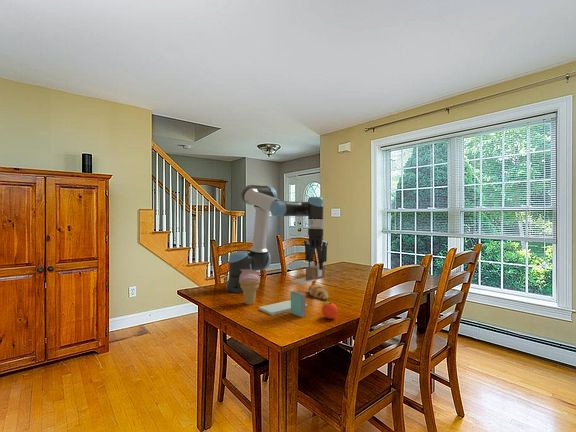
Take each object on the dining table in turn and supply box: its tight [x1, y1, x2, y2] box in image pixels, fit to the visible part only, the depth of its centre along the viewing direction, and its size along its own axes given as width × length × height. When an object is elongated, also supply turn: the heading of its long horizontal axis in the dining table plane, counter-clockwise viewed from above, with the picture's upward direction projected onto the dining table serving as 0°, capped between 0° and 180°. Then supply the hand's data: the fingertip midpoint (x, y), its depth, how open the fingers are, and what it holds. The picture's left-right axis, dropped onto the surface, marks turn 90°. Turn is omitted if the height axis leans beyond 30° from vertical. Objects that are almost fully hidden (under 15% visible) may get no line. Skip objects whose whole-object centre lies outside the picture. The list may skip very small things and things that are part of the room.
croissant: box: [308, 283, 329, 300], centre depth 173 cm, size 21×10×8 cm, turn 22°
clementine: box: [321, 301, 338, 320], centre depth 136 cm, size 8×7×7 cm
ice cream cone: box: [239, 264, 261, 306], centre depth 158 cm, size 11×11×20 cm
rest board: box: [258, 299, 309, 316], centre depth 150 cm, size 11×22×1 cm, turn 129°
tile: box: [290, 290, 306, 318], centre depth 140 cm, size 8×2×10 cm, turn 39°
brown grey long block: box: [291, 264, 326, 285], centre depth 147 cm, size 19×6×6 cm, turn 136°
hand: (315, 275), depth 150 cm, fingers closed on brown grey long block, 4 cm apart
